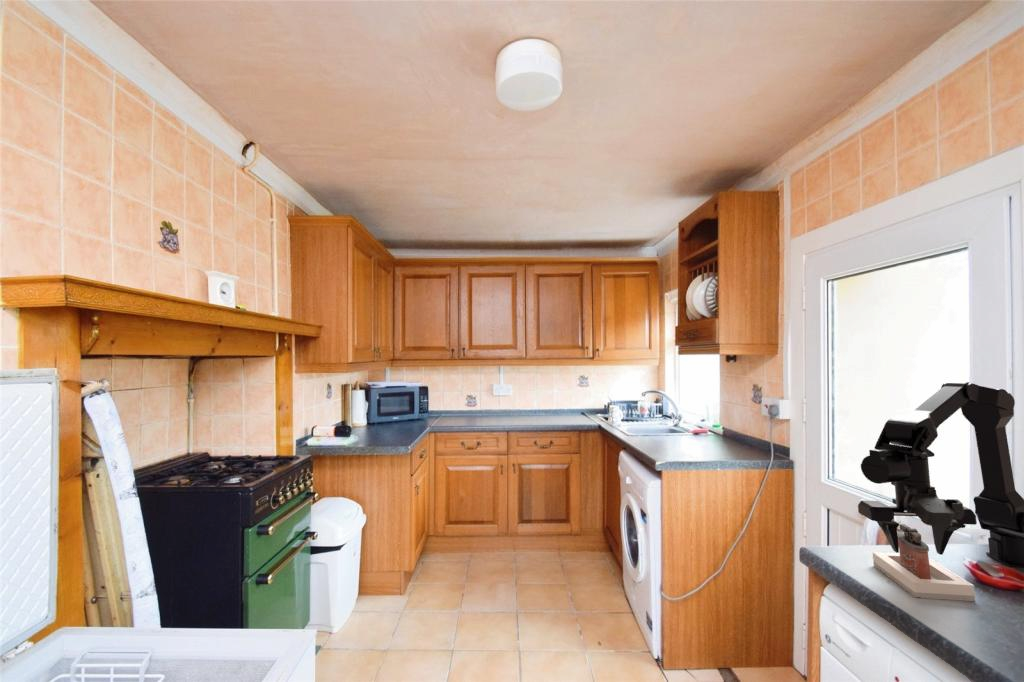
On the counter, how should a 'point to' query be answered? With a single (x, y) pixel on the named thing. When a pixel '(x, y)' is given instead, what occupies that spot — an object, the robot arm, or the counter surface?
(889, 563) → the tray
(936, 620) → the counter surface
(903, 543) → the lighter
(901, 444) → the robot arm
